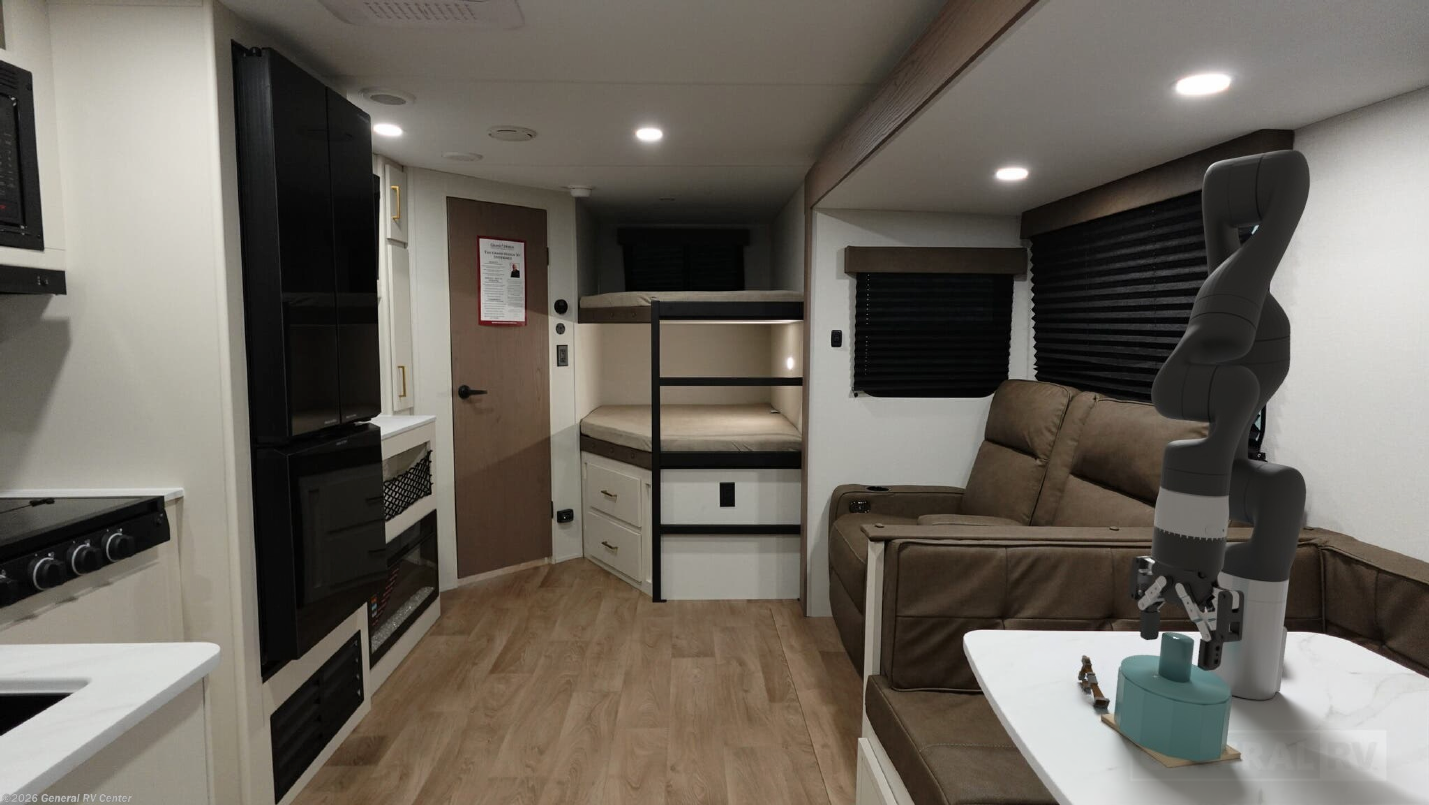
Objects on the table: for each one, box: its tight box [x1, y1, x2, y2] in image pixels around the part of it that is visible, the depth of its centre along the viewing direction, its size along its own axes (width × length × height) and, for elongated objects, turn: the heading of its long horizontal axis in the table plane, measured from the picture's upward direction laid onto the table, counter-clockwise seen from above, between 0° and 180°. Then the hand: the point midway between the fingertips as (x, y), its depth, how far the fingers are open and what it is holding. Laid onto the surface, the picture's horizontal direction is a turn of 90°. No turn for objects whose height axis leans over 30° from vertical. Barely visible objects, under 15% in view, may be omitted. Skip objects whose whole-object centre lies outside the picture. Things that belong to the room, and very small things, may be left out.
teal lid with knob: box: [1113, 631, 1233, 762], centre depth 90 cm, size 12×12×13 cm
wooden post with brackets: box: [1077, 654, 1111, 709], centre depth 102 cm, size 2×8×4 cm, turn 173°
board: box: [1100, 712, 1242, 768], centre depth 91 cm, size 11×11×1 cm
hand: (1176, 653), depth 90 cm, fingers open, 8 cm apart
